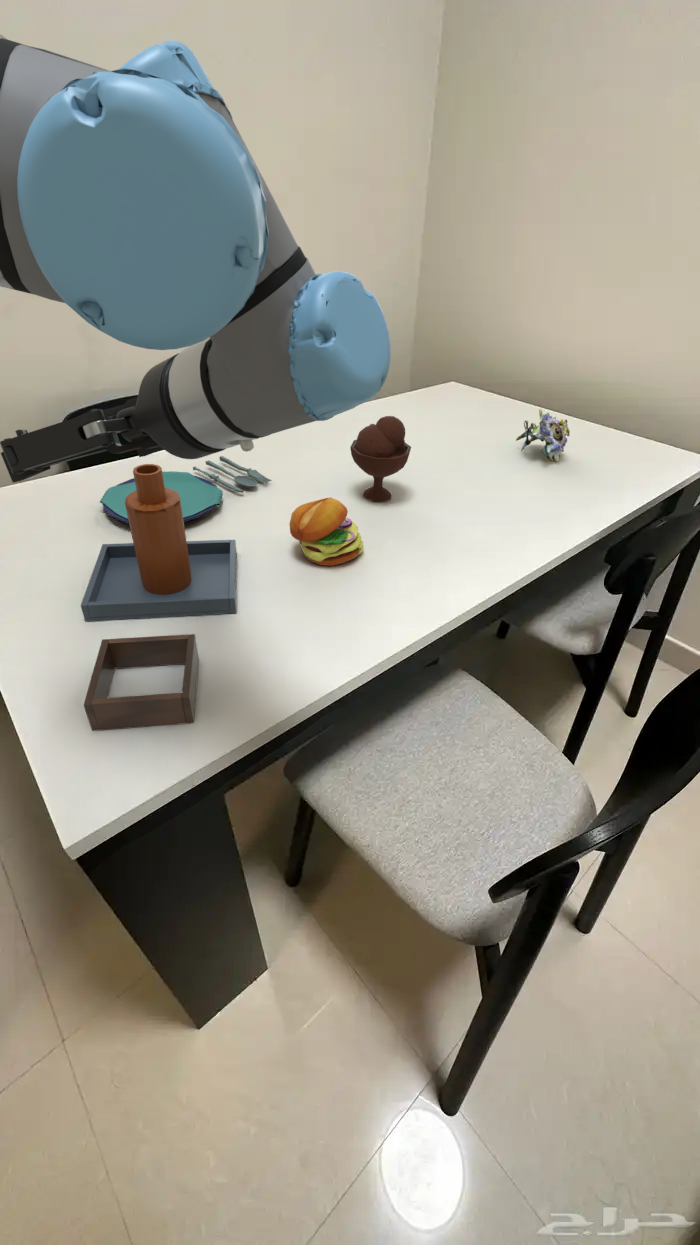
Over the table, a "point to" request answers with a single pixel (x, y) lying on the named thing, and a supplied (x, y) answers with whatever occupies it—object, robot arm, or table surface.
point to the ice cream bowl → (381, 454)
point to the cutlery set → (184, 491)
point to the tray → (124, 596)
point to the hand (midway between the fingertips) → (79, 454)
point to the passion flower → (547, 435)
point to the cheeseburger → (326, 532)
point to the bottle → (158, 532)
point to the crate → (143, 707)
